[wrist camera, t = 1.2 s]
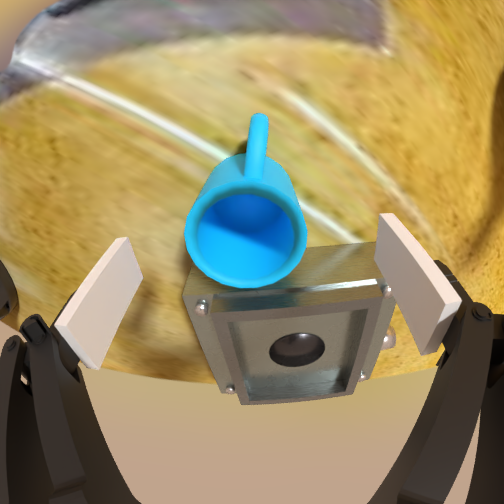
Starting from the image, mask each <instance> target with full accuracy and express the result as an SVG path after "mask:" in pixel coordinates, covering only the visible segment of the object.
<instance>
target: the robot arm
mask: <svg viewBox="0 0 504 504" xmlns="http://www.w3.org/2000/svg"><path fill="white" fill-rule="evenodd" d="M374 261H375V262H376V264H377V266H378V268H379V270H380V271H381V273H382V275H383V277H384V279H385V281H386V283H387V285H388V286H389V288H390V290H391V292H392V294H393V296H394V298H395V300H396V302H397V304H398V306H399V308H400V310H401V312H402V314H403V316H404V318H405V321H406V323H407V325H408V327H409V329H410V331H411V333H412V336H413V338H414V340H415V342H416V345H417V347H418V349H419V352H420V354H421V356H422V355H426V354H430V353H434V352H437V350H438V348H439V346H440V344H441V343H443V345H444V347H445V351H444V352H443V354H442V356H441V357H440V359H439V361H438V362H437V364H436V366H438V365H439V366H438V369H437V372H436V375H435V378H434V381H433V383H432V386H431V389H430V392H429V394H428V396H427V399H426V401H425V404H424V406H423V408H422V411H421V413H420V415H419V417H418V419H417V422H416V424H415V426H414V428H413V430H412V432H411V434H410V436H409V438H408V440H407V442H406V444H405V445H404V447H403V449H402V451H401V453H400V455H399V456H398V458H397V460H396V462H395V463H394V465H393V467H392V468H391V470H390V471H389V473H388V475H387V476H386V478H385V479H384V481H383V483H382V484H381V485H380V487H379V488H378V490H377V491H376V493H375V494H374V496H373V497H372V498H371V500H370V501H369V502H368V503H367V504H443V503H444V501H445V499H446V497H447V495H448V494H449V492H450V489H451V487H452V486H453V483H454V481H455V479H456V477H457V474H458V472H459V470H460V468H461V465H462V463H463V461H464V458H465V455H466V453H467V450H468V447H469V445H470V442H471V439H472V436H473V433H474V429H475V426H476V423H477V420H478V416H479V412H480V409H481V413H480V427H479V437H478V445H477V452H476V458H475V464H474V470H473V474H472V479H471V484H470V488H469V492H468V496H467V499H466V503H465V504H504V315H502V314H493V313H492V311H491V310H490V309H489V308H488V307H487V306H486V305H484V304H482V303H478V302H473V301H472V299H471V298H470V297H469V295H468V294H467V292H466V291H465V289H464V288H463V287H462V285H461V284H460V283H459V281H457V279H456V277H455V276H454V275H453V273H452V272H451V271H450V270H449V268H448V267H447V266H446V265H444V264H443V263H442V262H440V261H439V260H432V259H431V257H430V256H429V255H428V254H427V252H426V251H425V250H424V249H423V248H422V246H421V245H420V244H419V243H418V241H417V240H416V239H415V238H414V237H413V236H412V234H411V233H410V232H409V231H408V230H407V229H406V227H405V226H404V225H403V224H402V223H401V222H400V221H399V220H398V218H397V217H396V216H395V215H394V214H393V213H385V214H379V223H378V232H377V240H376V248H375V255H374ZM142 279H143V275H142V273H141V270H140V268H139V265H138V263H137V260H136V257H135V255H134V252H133V249H132V247H131V244H130V241H129V238H128V237H122V238H116V240H115V241H114V242H113V243H112V245H111V246H110V247H109V248H108V250H107V251H106V252H105V253H104V255H103V256H102V257H101V258H100V260H99V261H98V262H97V264H96V265H95V266H94V268H93V269H92V270H91V272H90V273H89V274H88V276H87V277H86V278H85V280H84V281H83V283H82V284H81V285H80V287H79V288H78V289H77V290H76V291H75V292H74V293H73V294H72V295H71V296H70V298H69V299H68V301H67V303H65V305H64V306H63V309H61V311H60V312H59V314H58V315H57V317H56V319H55V320H54V322H53V323H52V325H51V326H50V328H49V327H48V326H47V324H46V323H45V322H44V320H43V319H42V317H41V316H40V315H39V314H34V315H31V316H29V317H28V318H27V319H26V320H25V321H24V322H23V323H22V325H21V326H20V330H19V331H20V332H21V334H22V335H23V336H24V338H25V339H26V340H27V342H25V343H24V342H23V341H22V339H21V338H20V337H19V336H18V335H14V336H12V337H10V338H9V339H8V340H7V341H6V343H5V344H4V346H3V349H2V353H1V357H0V504H141V503H140V502H139V501H138V500H136V498H135V497H134V496H133V495H132V493H131V491H130V490H129V488H128V486H127V484H126V483H125V480H124V479H123V477H122V475H121V473H120V471H119V469H118V467H117V465H116V463H115V461H114V459H113V457H112V455H111V452H110V450H109V448H108V445H107V443H106V441H105V438H104V436H103V434H102V431H101V429H100V426H99V424H98V421H97V418H96V416H95V413H94V410H93V407H92V404H91V401H90V398H89V395H88V392H87V389H86V386H85V382H84V379H83V375H82V371H81V369H80V367H79V366H78V363H79V361H80V360H81V361H82V363H83V364H84V365H85V366H86V367H87V368H92V369H97V370H99V369H100V367H101V365H102V362H103V360H104V358H105V355H106V353H107V351H108V349H109V346H110V344H111V342H112V340H113V338H114V336H115V333H116V331H117V329H118V327H119V325H120V323H121V321H122V319H123V317H124V315H125V313H126V310H127V308H128V306H129V304H130V302H131V300H132V299H133V297H134V295H135V293H136V291H137V289H138V287H139V285H140V283H141V281H142ZM16 304H17V293H16V290H15V287H14V284H13V282H12V280H11V278H10V276H9V274H8V272H7V270H6V269H5V267H4V266H3V264H2V263H1V261H0V320H1V319H2V318H4V317H5V316H7V315H8V314H10V313H11V311H12V310H13V309H14V307H15V306H16ZM21 375H22V376H23V377H24V378H25V379H26V380H27V384H24V383H23V382H22V381H21Z"/></svg>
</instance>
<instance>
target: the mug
mask: <svg viewBox="0 0 504 504" xmlns="http://www.w3.org/2000/svg"><path fill="white" fill-rule="evenodd" d="M268 126H269V123H268V117H267V116H266V115H264V114H262V113H256V114H254V115H253V116H252V117H251V121H250V127H249V134H248V142H247V149H246V153H242V154H237V155H234V156H232V157H229V158H226V159H225V160H224V161H222V162H221V163H220V164H219V165H217V166H216V167H215V168H214V170H213V171H212V173H211V174H210V176H209V178H208V179H207V181H206V183H205V185H204V186H203V188H202V190H201V192H200V194H199V196H198V197H197V199H196V201H195V203H194V205H193V207H192V208H191V210H190V212H189V214H188V216H187V220H186V226H185V231H184V236H185V242H186V247H187V251H188V253H189V254H190V256H191V258H192V260H193V262H194V263H195V265H196V266H197V267H198V268H199V269H200V270H201V271H203V272H204V273H205V274H206V275H207V276H208V277H210V278H212V279H214V280H216V281H218V282H220V283H221V284H224V285H228V286H233V287H237V288H258V287H262V286H266V285H269V284H273V283H275V282H277V281H278V280H280V279H282V278H283V277H285V276H287V275H288V274H289V273H290V272H291V271H292V270H293V269H294V268H295V267H296V266H297V265H298V264H299V262H300V260H301V258H302V256H303V253H304V251H305V249H306V244H307V227H306V224H305V221H304V217H303V214H302V211H301V208H300V205H299V203H298V200H297V197H296V194H295V191H294V189H293V186H292V183H291V180H290V178H289V176H288V174H287V173H286V172H285V170H284V169H283V168H282V166H281V165H280V164H278V163H277V162H275V161H274V160H272V159H271V158H269V157H267V156H266V149H267V139H268Z"/></svg>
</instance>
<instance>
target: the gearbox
mask: <svg viewBox="0 0 504 504" xmlns="http://www.w3.org/2000/svg"><path fill="white" fill-rule="evenodd" d="M375 248H376V242H368V243H357V244H346V245H335V246H323V247H312V248H306V249H305V251H304V253H303V256H302V258H301V260H300V262H299V264H298V265H297V266H296V267H295V268H294V269H293V270H292V271H291V272H290V273H289V274H288V275H287V276H285V277H283V278H282V279H280V280H278V281H277V282H275V283H273V284H269V285H266V286H262V287H258V288H237V287H233V286H228V285H224V284H221V283H220V282H218V281H216V280H214V279H212V278H210V277H208V276H207V275H206V274H205V273H204V272H203V271H201V270H200V269H199V268H198V267H197V266H196V265H195V263H194V262H193V263H192V266H191V269H190V272H189V275H188V279H187V282H186V285H185V288H184V291H183V294H182V297H183V300H184V303H185V306H186V308H187V311H188V314H189V316H190V319H191V322H192V324H193V327H194V329H195V332H196V334H197V337H198V339H199V342H200V344H201V347H202V349H203V352H204V354H205V357H206V359H207V361H208V364H209V366H210V368H211V371H212V373H213V375H214V378H215V380H216V382H217V384H218V386H219V389H220V391H221V393H228V394H234V393H237V394H238V397H239V400H240V403H241V405H256V404H257V405H258V404H276V403H288V402H300V401H310V400H318V399H325V398H332V397H338V396H345V395H351V394H353V392H354V389H355V387H356V384H357V382H361V381H364V380H368V379H369V378H370V376H371V373H372V371H373V368H374V366H375V363H376V361H377V358H378V355H379V353H380V350H385V349H390V348H394V346H395V343H396V334H395V330H394V328H393V327H392V326H389V324H390V321H391V318H392V315H393V311H394V308H395V305H396V300H395V298H394V296H393V294H392V292H391V290H390V288H389V286H388V285H387V283H386V281H385V279H384V277H383V275H382V273H381V271H380V270H379V268H378V266H377V264H376V262H375V261H374V255H375Z"/></svg>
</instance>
